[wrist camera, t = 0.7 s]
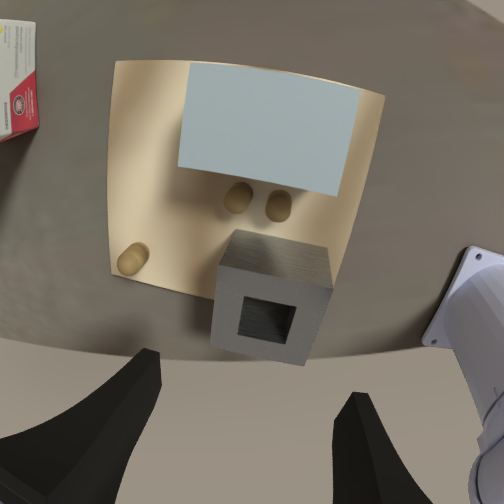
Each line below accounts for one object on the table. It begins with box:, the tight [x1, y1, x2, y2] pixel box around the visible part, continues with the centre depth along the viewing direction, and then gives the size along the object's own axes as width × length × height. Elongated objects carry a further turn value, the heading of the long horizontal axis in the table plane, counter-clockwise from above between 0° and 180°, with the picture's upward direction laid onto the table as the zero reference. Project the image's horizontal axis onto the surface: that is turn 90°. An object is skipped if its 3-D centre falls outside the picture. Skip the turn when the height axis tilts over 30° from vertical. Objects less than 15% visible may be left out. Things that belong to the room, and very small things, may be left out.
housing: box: [178, 62, 361, 197], centre depth 12 cm, size 6×4×4 cm, turn 81°
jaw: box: [209, 229, 333, 366], centre depth 16 cm, size 5×5×4 cm
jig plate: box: [107, 60, 385, 300], centre depth 15 cm, size 14×14×4 cm
